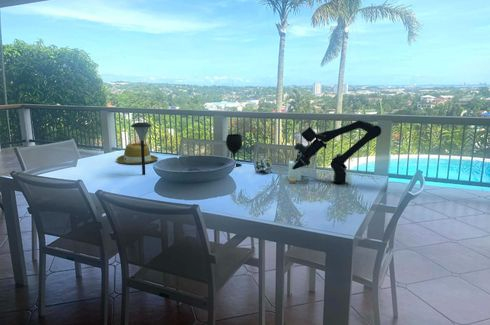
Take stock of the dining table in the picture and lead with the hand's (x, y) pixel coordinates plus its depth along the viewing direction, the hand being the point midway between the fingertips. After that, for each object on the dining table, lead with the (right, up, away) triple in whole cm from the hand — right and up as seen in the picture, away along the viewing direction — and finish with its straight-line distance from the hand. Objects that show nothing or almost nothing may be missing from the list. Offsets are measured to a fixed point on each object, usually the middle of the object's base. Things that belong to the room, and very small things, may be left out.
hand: (292, 167), depth 204 cm
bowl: (-1, -8, -7) cm, 11 cm away
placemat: (0, -8, -3) cm, 8 cm away
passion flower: (-15, -4, +17) cm, 23 cm away
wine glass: (-34, +1, +37) cm, 50 cm away
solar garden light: (-85, -4, +9) cm, 86 cm away
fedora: (-100, +3, +48) cm, 111 cm away
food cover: (+1, -6, +1) cm, 7 cm away
